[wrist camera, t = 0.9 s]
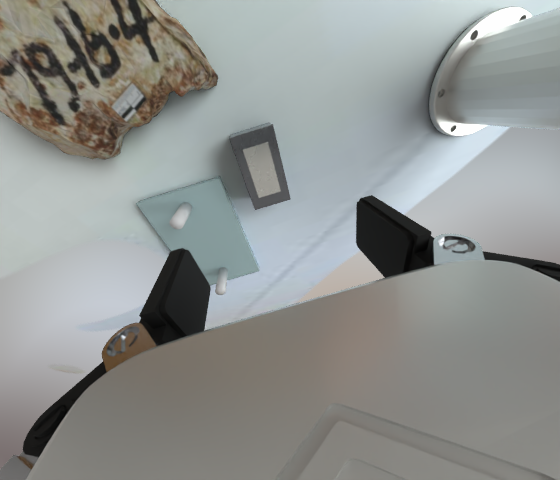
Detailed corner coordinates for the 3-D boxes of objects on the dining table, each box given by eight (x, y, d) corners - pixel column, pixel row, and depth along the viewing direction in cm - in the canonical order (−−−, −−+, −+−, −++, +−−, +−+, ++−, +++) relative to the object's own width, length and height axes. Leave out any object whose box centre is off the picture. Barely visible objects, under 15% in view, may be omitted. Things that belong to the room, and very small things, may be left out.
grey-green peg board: (219, 176, 28) (214, 190, 23) (259, 267, 38) (261, 291, 33) (139, 200, 28) (116, 220, 23) (199, 284, 38) (192, 311, 33)
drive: (268, 122, 25) (272, 124, 21) (285, 188, 30) (290, 199, 27) (231, 134, 25) (229, 138, 22) (253, 197, 30) (255, 210, 27)
